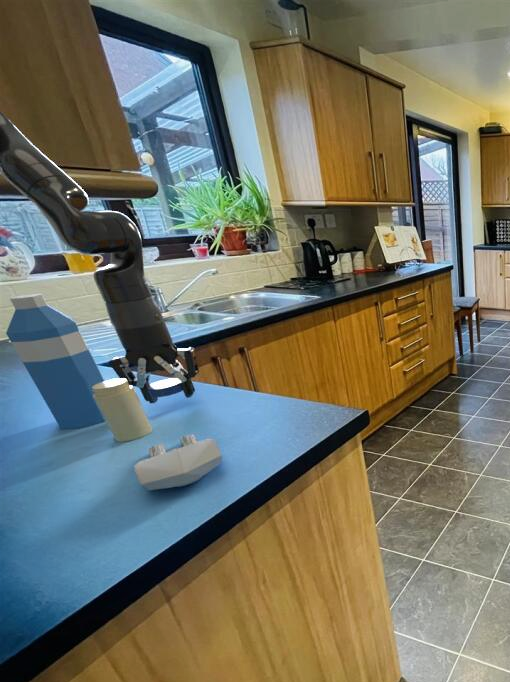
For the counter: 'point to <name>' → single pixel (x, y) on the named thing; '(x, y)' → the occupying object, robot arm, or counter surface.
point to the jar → (121, 409)
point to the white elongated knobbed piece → (178, 463)
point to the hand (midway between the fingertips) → (172, 398)
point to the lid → (165, 388)
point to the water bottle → (56, 360)
